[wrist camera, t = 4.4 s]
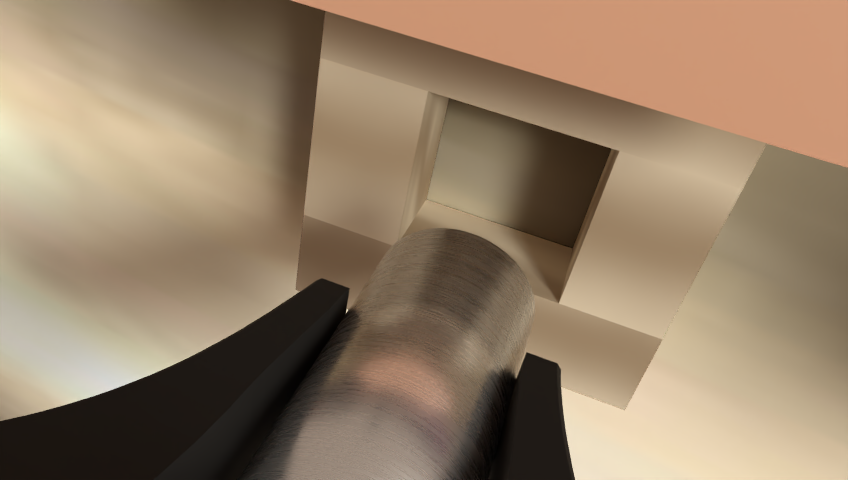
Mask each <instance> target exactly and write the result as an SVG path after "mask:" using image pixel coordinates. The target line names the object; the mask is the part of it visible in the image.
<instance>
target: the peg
mask: <svg viewBox="0 0 848 480" xmlns="http://www.w3.org/2000/svg"><path fill="white" fill-rule="evenodd" d="M534 316H535V301H534V295H533V292H532V288H531V286H530V283H529V281H528V279H527V277H526V276H525V274H524V272H523V271H522V269H521V268H520V267H519V265H518V264H517V263H516V262H515V261H514V260H513V259H512V258H511V257H510V256H509V255H508V254H507V253H506V252H505V251H503V250H502V249H501V248H500V247H498V246H497V245H495V244H493V243H492V242H490V241H488V240H486V239H484V238H482V237H480V236H478V235H475V234H472V233H469V232H466V231H462V230H457V229H449V228H432V229H424V230H420V231H417V232H414V233H411V234H409V235H406V236H405V237H403V238H401V239H400V240H398V241H397V242H396V243H395V244H394V245H392V246H391V247H390V249H389V250H388V251H387V252H386V254H385V255H384V257H383V258H382V260H381V261H380V263H379V264H378V266H377V267H376V269H375V270H374V272H373V274H372V275H371V277H370V278H369V280H368V281H367V283H366V284H365V286H364V287H363V289H362V290H361V292H360V293H359V295H358V296H357V298H356V299H355V301H354V303H353V304H352V306H351V307H350V309H349V310H348V312H347V313H346V315H345V316H344V318H343V319H342V321H341V322H340V324H339V325H338V327H337V328H336V330H335V332H334V333H333V335H332V336H331V338H330V339H329V341H328V342H327V344H326V345H325V347H324V348H323V350H322V351H321V353H320V354H319V356H318V357H317V359H316V361H315V362H314V364H313V365H312V367H311V368H310V370H309V371H308V373H307V374H306V376H305V377H304V379H303V380H302V382H301V383H300V385H299V386H298V388H297V390H296V391H295V393H294V394H293V396H292V397H291V399H290V400H289V402H288V403H287V405H286V406H285V408H284V409H283V411H282V412H281V414H280V415H279V417H278V419H277V420H276V422H275V423H274V425H273V426H272V428H271V429H270V431H269V432H268V434H267V435H266V437H265V438H264V440H263V441H262V443H261V444H260V446H259V448H258V449H257V451H256V452H255V454H254V455H253V457H252V458H251V460H250V461H249V463H248V464H247V466H246V467H245V469H244V470H243V472H242V473H241V475H240V477H239V478H238V480H488V477H489V474H490V470H491V467H492V463H493V460H494V456H495V453H496V450H497V446H498V443H499V439H500V435H501V431H502V427H503V423H504V419H505V416H506V412H507V409H508V405H509V402H510V398H511V395H512V392H513V388H514V385H515V381H516V378H517V375H518V373H519V370H520V367H521V363H522V360H523V356H524V353H525V349H526V346H527V342H528V339H529V336H530V332H531V329H532V325H533V321H534Z"/></svg>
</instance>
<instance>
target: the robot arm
mask: <svg viewBox="0 0 848 480" xmlns="http://www.w3.org/2000/svg"><path fill="white" fill-rule="evenodd" d="M349 290H350V288H348V287H345V286H342V285H340V284H337V283H334V282H331V281H329V280H326V279H323V278H321V279H318V280H316V281H315V282H313V283H312V284H310V285H309V286H307V287H306V288H305V289H303V290H302V291H300V292H299V293H297V294H296V295H294V296H293V297H291V298H290V299H288V300H287V301H285V302H284V303H282V304H281V305H279V306H278V307H276V308H275V309H273V310H272V311H270V312H269V313H267V314H265V315H264V316H262V317H261V318H259V319H257V320H256V321H254V322H252V323H251V324H249V325H247V326H246V327H244V328H243V329H241V330H239V331H238V332H236V333H234V334H232V335H231V336H229V337H227V338H225V339H223V340H221V341H219V342H218V343H216V344H214V345H212V346H210V347H208V348H207V349H205V350H203V351H201V352H199V353H197V354H195V355H193V356H191V357H189V358H187V359H185V360H183V361H181V362H179V363H177V364H174V365H172V366H170V367H168V368H166V369H163V370H161V371H159V372H157V373H154V374H152V375H150V376H147V377H144V378H142V379H139V380H137V381H134V382H132V383H129V384H127V385H124V386H121V387H119V388H116V389H113V390H111V391H108V392H105V393H102V394H99V395H96V396H93V397H90V398H87V399H83V400H80V401H77V402H73V403H70V404H67V405H64V406H60V407H57V408H53V409H49V410H46V411H42V412H38V413H34V414H30V415H26V416H22V417H17V418H13V419H8V420H3V421H0V480H238V478H239V477H240V475H241V473H242V472H243V470H244V469H245V467H246V466H247V464H248V463H249V461H250V460H251V458H252V457H253V455H254V454H255V452H256V451H257V449H258V448H259V446H260V444H261V443H262V441H263V440H264V438H265V437H266V435H267V434H268V432H269V431H270V429H271V428H272V426H273V425H274V423H275V422H276V420H277V419H278V417H279V415H280V414H281V412H282V411H283V409H284V408H285V406H286V405H287V403H288V402H289V400H290V399H291V397H292V396H293V394H294V393H295V391H296V390H297V388H298V386H299V385H300V383H301V382H302V380H303V379H304V377H305V376H306V374H307V373H308V371H309V370H310V368H311V367H312V365H313V364H314V362H315V361H316V359H317V357H318V356H319V354H320V353H321V351H322V350H323V348H324V347H325V345H326V344H327V342H328V341H329V339H330V338H331V336H332V335H333V333H334V332H335V330H336V328H337V327H338V325H339V324H340V322H341V321H342V319H343V318H344V316H345V315H346V309H347V303H348V297H349ZM488 480H575V477H574V473H573V468H572V463H571V458H570V453H569V447H568V442H567V436H566V430H565V423H564V415H563V407H562V395H561V369H560V367H559V365H558V363H555V362H553V361H550V360H547V359H544V358H542V357H539V356H536V355H533V354H530V353H528V352H526V355H525V357H524V360H523V362H522V365H521V368H520V370H519V373H518V375H517V378H516V381H515V385H514V388H513V392H512V395H511V398H510V402H509V405H508V409H507V412H506V416H505V419H504V423H503V427H502V431H501V435H500V439H499V443H498V446H497V450H496V453H495V456H494V460H493V463H492V467H491V470H490V474H489V477H488Z"/></svg>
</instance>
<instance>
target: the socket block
mask: <svg viewBox="0 0 848 480" xmlns="http://www.w3.org/2000/svg"><path fill="white" fill-rule="evenodd" d="M449 98H451V99H454V100H457V101H461V102H464V103H467V104H470V105H474V106H477V107H480V108H483V109H486V110H490V111H493V112H496V113H499V114H502V115H506V116H509V117H512V118H515V119H519V120H522V121H525V122H528V123H531V124H535V125H538V126H541V127H544V128H547V129H551V130H554V131H557V132H560V133H563V134H567V135H570V136H573V137H576V138H580V139H583V140H586V141H589V142H592V143H596V144H599V145H602V146H605V147H608V148H612V149H611V151H610V154H609V156H608V159H607V162H606V164H605V167H604V169H603V172H602V174H601V177H600V180H599V182H598V185H597V187H596V190H595V192H594V195H593V198H592V200H591V203H590V205H589V208H588V210H587V213H586V216H585V218H584V221H583V223H582V226H581V228H580V231H579V234H578V236H577V239H576V241H575V244H574V246H573V249H572V248H569V247H566V246H563V245H560V244H557V243H554V242H551V241H548V240H545V239H542V238H539V237H536V236H533V235H530V234H527V233H524V232H521V231H518V230H515V229H512V228H509V227H506V226H503V225H501V224H498V223H495V222H492V221H489V220H486V219H483V218H480V217H477V216H474V215H471V214H468V213H465V212H462V211H459V210H456V209H453V208H450V207H447V206H444V205H441V204H438V203H435V202H432V201H429V200H426V199H427V194H428V190H429V185H430V181H431V177H432V172H433V168H434V163H435V159H436V154H437V150H438V145H439V141H440V137H441V132H442V128H443V123H444V119H445V114H446V110H447V106H448V101H449ZM766 144H767V143H764V142H761V141H757V140H754V139H751V138H747V137H744V136H741V135H737V134H734V133H731V132H727V131H724V130H721V129H717V128H714V127H711V126H707V125H704V124H701V123H697V122H694V121H691V120H687V119H684V118H681V117H677V116H674V115H671V114H667V113H664V112H661V111H657V110H654V109H651V108H647V107H644V106H641V105H637V104H634V103H631V102H627V101H624V100H621V99H617V98H614V97H611V96H607V95H604V94H601V93H597V92H594V91H591V90H587V89H584V88H581V87H577V86H574V85H571V84H567V83H564V82H561V81H558V80H554V79H551V78H548V77H544V76H541V75H538V74H534V73H531V72H528V71H524V70H521V69H518V68H514V67H511V66H508V65H504V64H501V63H498V62H494V61H491V60H488V59H484V58H481V57H478V56H474V55H471V54H468V53H464V52H461V51H458V50H454V49H451V48H448V47H444V46H441V45H438V44H434V43H431V42H428V41H424V40H421V39H418V38H414V37H411V36H408V35H404V34H401V33H398V32H394V31H391V30H388V29H384V28H381V27H378V26H374V25H371V24H368V23H364V22H361V21H358V20H354V19H351V18H348V17H344V16H341V15H338V14H334V13H331V12H328V11H325V18H324V27H323V36H322V46H321V55H320V65H319V74H318V84H317V93H316V103H315V112H314V121H313V131H312V140H311V150H310V159H309V169H308V178H307V188H306V197H305V206H304V216H303V225H302V235H301V244H300V254H299V263H298V273H297V282H296V290H298V291H302V290H303V289H305V288H306V287H307V286H309V285H310V284H312V283H313V282H315V281H316V280H318V279H321V278H323V279H326V280H329V281H331V282H334V283H337V284H340V285H342V286H345V287H348V288H350V290H349V297H348V303H347V309H350V307H351V306H352V304H353V303H354V301H355V299H356V298H357V296H358V295H359V293H360V292H361V290H362V289H363V287H364V286H365V284H366V283H367V281H368V280H369V278H370V277H371V275H372V274H373V272H374V270H375V269H376V267H377V266H378V264H379V263H380V261H381V260H382V258H383V257H384V255H385V254H386V252H387V251H388V250H389V249H390V247H391V246H392V245H394V244H395V243H396V242H397V241H398V240H400V239H401V238H403V237H405V236H406V235H409V234H411V233H414V232H417V231H420V230H424V229H432V228H449V229H457V230H462V231H466V232H469V233H472V234H475V235H478V236H480V237H482V238H484V239H486V240H488V241H490V242H492V243H493V244H495V245H497V246H498V247H500V248H501V249H502V250H503V251H505V252H506V253H507V254H508V255H509V256H510V257H511V258H512V259H513V260H514V261H515V262H516V263H517V264H518V265H519V267H520V268H521V269H522V271H523V272H524V274H525V276H526V277H527V279H528V281H529V283H530V286H531V288H532V292H533V295H534V301H535V316H534V321H533V325H532V329H531V332H530V336H529V339H528V342H527V346H526V349H525V353H524V356H523V360H524V357H525V355H526V352H528V353H530V354H533V355H536V356H539V357H542V358H544V359H547V360H550V361H553V362H555V363H558V365H559V367H560V369H561V387H563V388H566V389H568V390H571V391H574V392H577V393H579V394H582V395H585V396H587V397H590V398H593V399H596V400H598V401H601V402H604V403H607V404H609V405H612V406H615V407H618V408H620V409H623V410H625V409H626V407H627V405H628V403H629V401H630V400H631V398H632V396H633V394H634V392H635V390H636V388H637V386H638V385H639V383H640V381H641V379H642V377H643V375H644V373H645V371H646V369H647V368H648V366H649V364H650V362H651V360H652V358H653V356H654V354H655V353H656V351H657V349H658V347H659V345H660V343H661V341H662V339H663V338H664V336H665V334H666V332H667V330H668V328H669V326H670V324H671V323H672V321H673V319H674V317H675V315H676V313H677V311H678V309H679V308H680V306H681V304H682V302H683V300H684V298H685V296H686V294H687V293H688V291H689V289H690V287H691V285H692V283H693V281H694V279H695V278H696V276H697V274H698V272H699V270H700V268H701V266H702V264H703V263H704V261H705V259H706V257H707V255H708V253H709V251H710V249H711V248H712V246H713V244H714V242H715V240H716V238H717V236H718V234H719V232H720V231H721V229H722V227H723V225H724V223H725V221H726V219H727V217H728V216H729V214H730V212H731V210H732V208H733V206H734V204H735V202H736V201H737V199H738V197H739V195H740V193H741V191H742V189H743V187H744V186H745V184H746V182H747V180H748V178H749V176H750V174H751V172H752V171H753V169H754V167H755V165H756V163H757V161H758V159H759V157H760V156H761V154H762V152H763V150H764V148H765V146H766ZM523 360H522V362H523ZM521 365H522V363H521ZM520 368H521V367H520Z"/></svg>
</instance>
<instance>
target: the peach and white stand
mask: <svg viewBox="0 0 848 480" xmlns="http://www.w3.org/2000/svg"><path fill="white" fill-rule="evenodd" d="M291 1H294V2H298V3H301V4H304V5H308V6H311V7H314V8H318V9H321V10H324V11H328V12H331V13H334V14H338V15H341V16H344V17H348V18H351V19H354V20H358V21H361V22H364V23H368V24H371V25H374V26H378V27H381V28H384V29H388V30H391V31H394V32H398V33H401V34H404V35H408V36H411V37H414V38H418V39H421V40H424V41H428V42H431V43H434V44H438V45H441V46H444V47H448V48H451V49H454V50H458V51H461V52H464V53H468V54H471V55H474V56H478V57H481V58H484V59H488V60H491V61H494V62H498V63H501V64H504V65H508V66H511V67H514V68H518V69H521V70H524V71H528V72H531V73H534V74H538V75H541V76H544V77H548V78H551V79H554V80H558V81H561V82H564V83H567V84H571V85H574V86H577V87H581V88H584V89H587V90H591V91H594V92H597V93H601V94H604V95H607V96H611V97H614V98H617V99H621V100H624V101H627V102H631V103H634V104H637V105H641V106H644V107H647V108H651V109H654V110H657V111H661V112H664V113H667V114H671V115H674V116H677V117H681V118H684V119H687V120H691V121H694V122H697V123H701V124H704V125H707V126H711V127H714V128H717V129H721V130H724V131H727V132H731V133H734V134H737V135H741V136H744V137H747V138H751V139H754V140H757V141H761V142H764V143H767V144H771V145H774V146H777V147H781V148H784V149H787V150H791V151H794V152H797V153H801V154H804V155H807V156H811V157H814V158H817V159H821V160H824V161H827V162H831V163H834V164H837V165H840V166H844V167H847V168H848V0H291Z"/></svg>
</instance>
